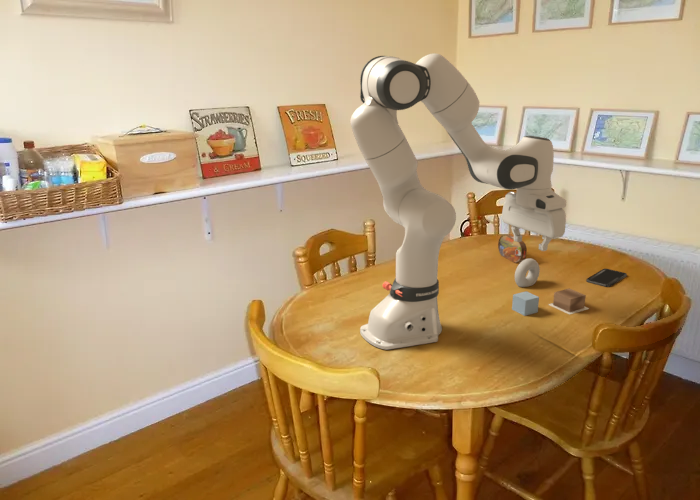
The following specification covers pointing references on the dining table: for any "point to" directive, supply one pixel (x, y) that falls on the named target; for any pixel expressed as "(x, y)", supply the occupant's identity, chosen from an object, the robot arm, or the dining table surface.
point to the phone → (606, 277)
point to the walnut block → (569, 300)
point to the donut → (522, 270)
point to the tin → (512, 249)
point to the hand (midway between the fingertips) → (530, 245)
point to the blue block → (525, 303)
